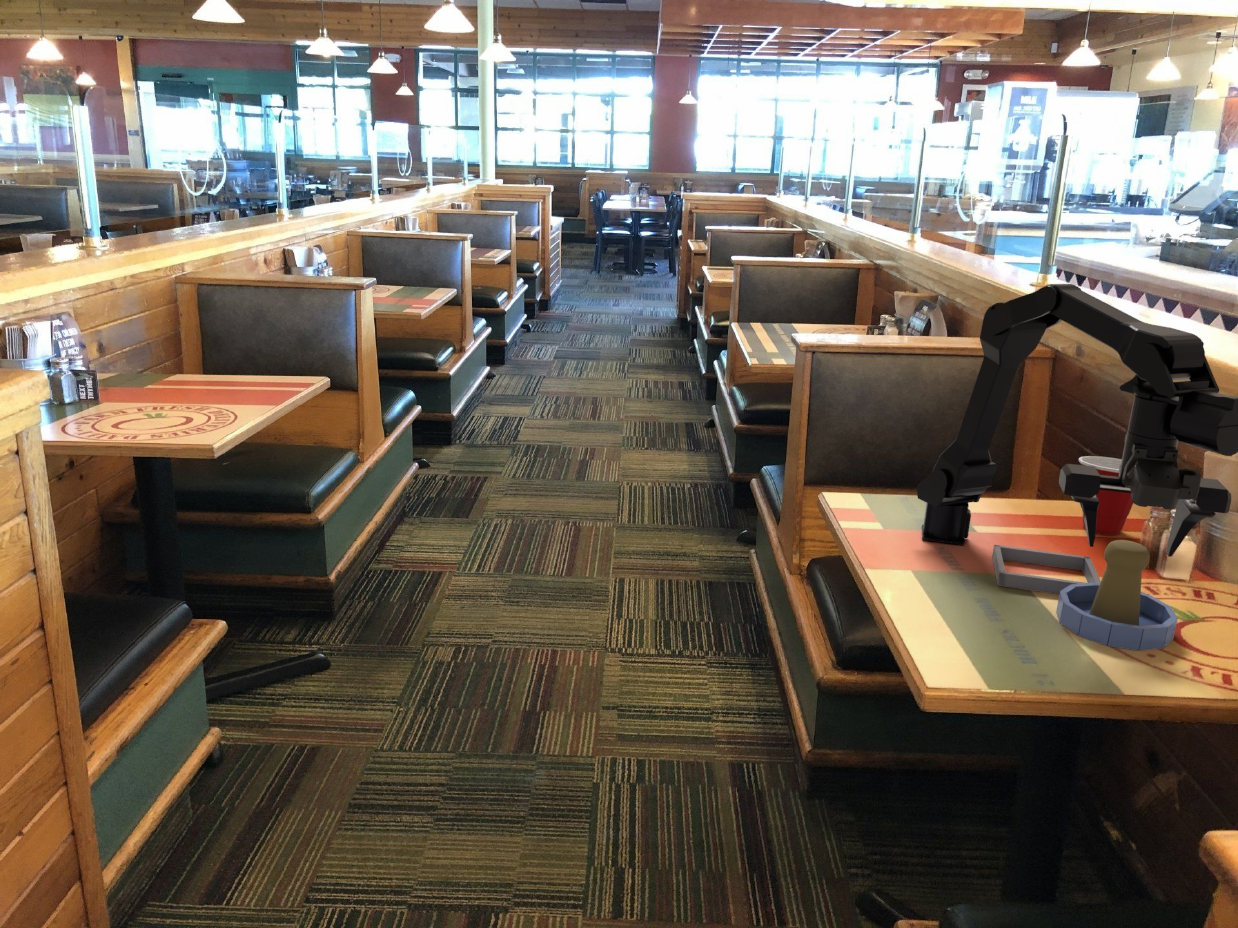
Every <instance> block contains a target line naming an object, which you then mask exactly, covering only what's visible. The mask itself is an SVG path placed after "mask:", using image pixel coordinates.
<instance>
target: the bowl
mask: <svg viewBox="0 0 1238 928" xmlns="http://www.w3.org/2000/svg"><path fill="white" fill-rule="evenodd" d="M1099 585H1100V583H1088V582H1085V583H1082V584H1071V585H1069V586H1068V587H1066V588H1064V589H1063V590H1061V591H1060V594H1058V599H1057V605H1056V609H1055V610H1056V611H1055V613H1056V615H1057V618H1058V622H1059V624H1061V625H1062V626H1063V627H1065V628H1066V629H1068V630H1070V632H1072V633H1074V634H1075V635H1077V636H1078V637H1081V638H1084V639H1086V640H1089V641H1093V642H1095V643H1098V644H1101V645H1104V646H1106V647H1110V648H1111V647H1112V648H1113V647H1114V648H1119V649H1126V650H1133V651H1139V652H1140V651H1149V650H1160V649H1165V647H1167V646H1168V645H1169V644H1170V643H1171V642H1172V641H1174V637H1175V632H1176V628H1177V623H1178V620H1179V618H1178V616H1177V615H1176V612H1175V611H1174V610H1173V608H1172V606H1170V605H1169V604H1167V603H1165V602H1163V601H1162V600H1160V599H1158V598H1156V597H1154V596H1153V595H1151V594H1147V593H1144V592H1142V591H1141V597H1140V615H1139V626H1137V625H1130V624H1123V623H1116V622H1111V621H1108V620H1105V619H1102V618H1099V617H1096V616H1093V615H1090V614H1089V613H1090V610H1091V607H1092V605H1093V602H1094V599H1095V596H1096V594H1097V591H1098V588H1099Z"/></svg>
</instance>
